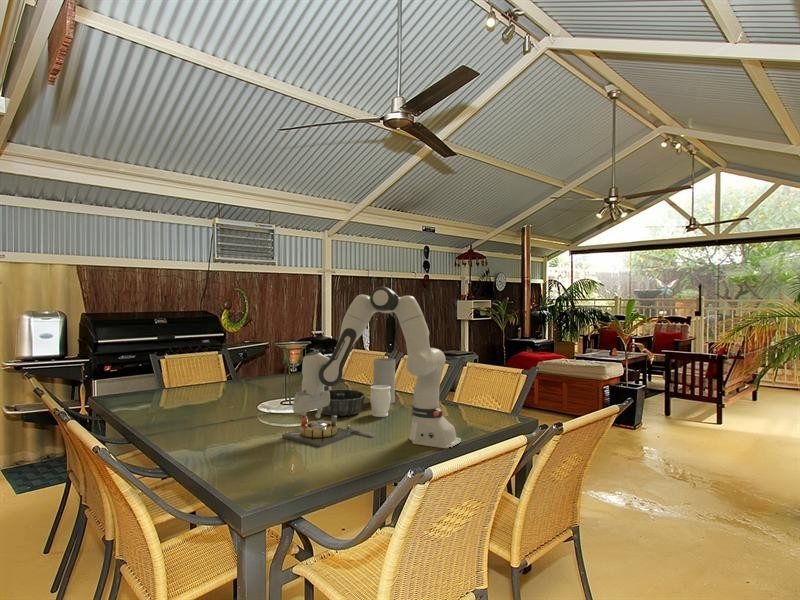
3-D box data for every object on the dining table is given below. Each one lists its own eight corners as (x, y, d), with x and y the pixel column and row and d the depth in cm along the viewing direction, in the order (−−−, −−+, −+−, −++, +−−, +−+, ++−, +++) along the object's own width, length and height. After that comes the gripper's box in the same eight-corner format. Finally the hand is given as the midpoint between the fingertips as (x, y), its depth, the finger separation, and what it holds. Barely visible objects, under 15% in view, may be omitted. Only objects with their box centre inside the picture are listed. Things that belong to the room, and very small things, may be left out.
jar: (391, 413, 251) (391, 385, 251) (389, 418, 241) (389, 388, 241) (371, 412, 252) (372, 384, 252) (368, 417, 242) (368, 388, 242)
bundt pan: (369, 418, 241) (369, 398, 241) (316, 420, 235) (316, 400, 235) (361, 406, 267) (362, 388, 267) (314, 408, 261) (314, 389, 261)
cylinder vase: (375, 405, 270) (376, 361, 270) (371, 400, 282) (371, 358, 282) (396, 404, 273) (397, 360, 273) (391, 399, 285) (392, 358, 285)
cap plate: (354, 434, 211) (354, 422, 211) (320, 447, 193) (320, 433, 193) (317, 426, 224) (317, 414, 223) (282, 437, 205) (282, 425, 205)
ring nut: (327, 425, 219) (327, 410, 219) (343, 433, 206) (344, 417, 206) (294, 430, 210) (294, 414, 210) (309, 439, 197) (309, 422, 197)
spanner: (376, 436, 210) (376, 429, 210) (371, 437, 207) (371, 431, 207) (348, 430, 218) (348, 424, 218) (344, 431, 216) (344, 425, 216)
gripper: (300, 393, 202) (300, 425, 202) (332, 386, 219) (332, 416, 219) (289, 391, 205) (289, 423, 205) (322, 384, 222) (321, 414, 223)
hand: (311, 419), depth 212 cm, fingers open, 7 cm apart
